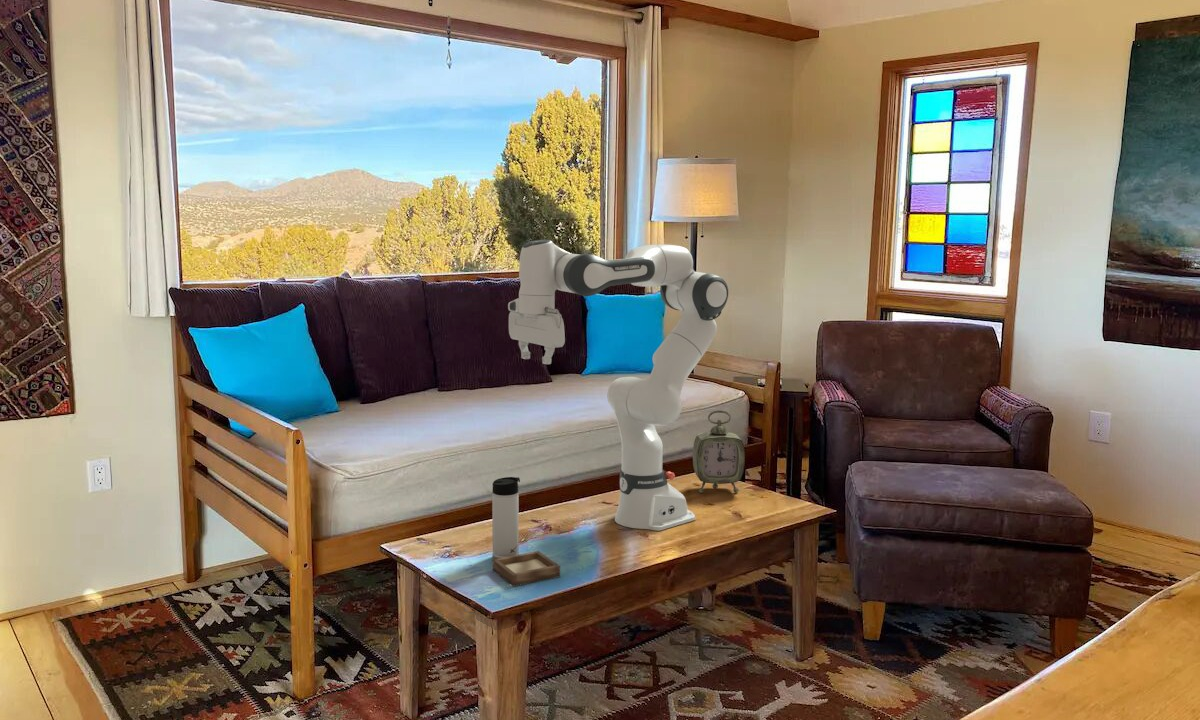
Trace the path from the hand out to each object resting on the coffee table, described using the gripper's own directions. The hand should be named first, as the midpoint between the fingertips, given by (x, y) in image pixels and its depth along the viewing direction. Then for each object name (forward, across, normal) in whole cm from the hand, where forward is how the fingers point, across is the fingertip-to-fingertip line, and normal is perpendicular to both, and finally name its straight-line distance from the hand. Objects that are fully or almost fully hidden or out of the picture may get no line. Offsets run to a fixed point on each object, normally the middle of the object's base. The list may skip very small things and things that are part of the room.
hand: (536, 361), depth 232 cm
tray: (+46, -18, +14) cm, 52 cm away
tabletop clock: (+46, +4, -69) cm, 83 cm away
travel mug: (+47, -7, +13) cm, 49 cm away
